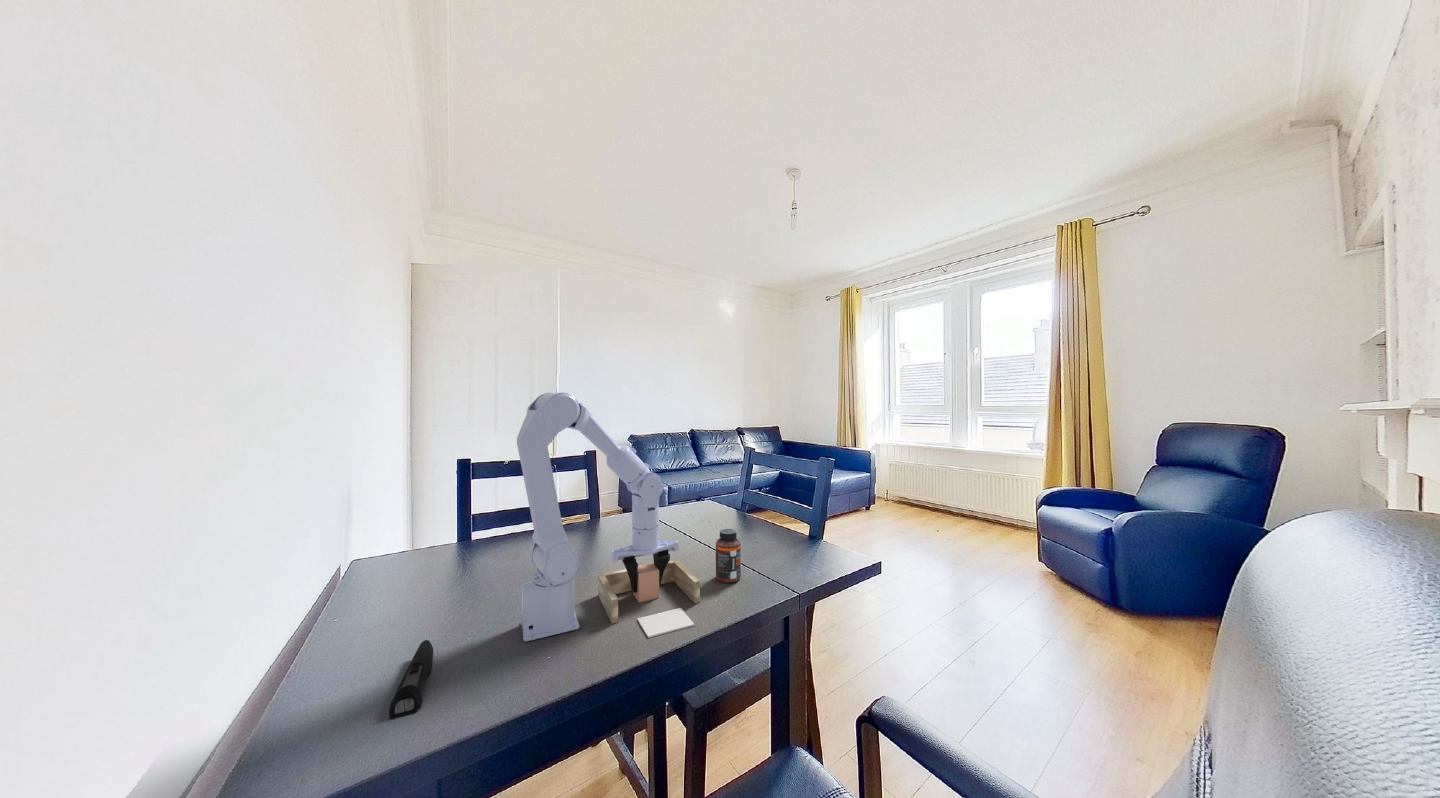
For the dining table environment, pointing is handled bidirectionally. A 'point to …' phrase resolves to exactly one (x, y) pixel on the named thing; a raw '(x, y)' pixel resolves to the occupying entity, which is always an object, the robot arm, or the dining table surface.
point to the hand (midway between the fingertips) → (645, 588)
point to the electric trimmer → (412, 683)
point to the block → (647, 582)
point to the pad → (665, 622)
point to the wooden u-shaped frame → (621, 583)
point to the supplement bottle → (728, 556)
